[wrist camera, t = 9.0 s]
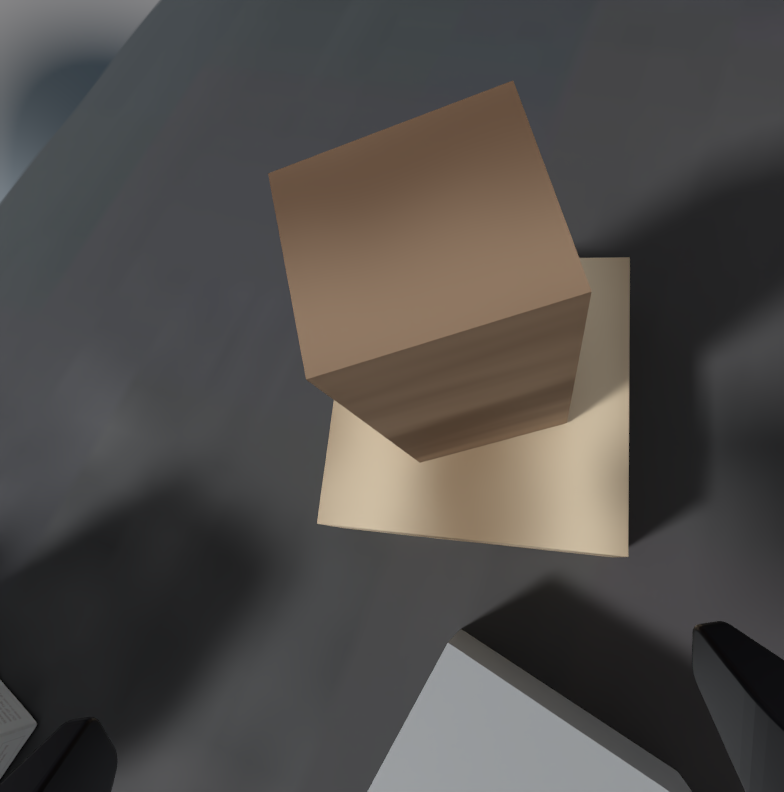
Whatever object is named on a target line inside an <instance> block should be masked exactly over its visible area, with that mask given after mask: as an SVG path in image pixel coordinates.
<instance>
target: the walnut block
mask: <svg viewBox="0 0 784 792" xmlns="http://www.w3.org/2000/svg"><path fill="white" fill-rule="evenodd" d="M268 175H269V180H270V186H271V191H272V197H273V202H274V207H275V213H276V218H277V224H278V229H279V235H280V240H281V245H282V251H283V256H284V262H285V267H286V272H287V278H288V283H289V289H290V294H291V300H292V305H293V310H294V316H295V321H296V327H297V332H298V338H299V343H300V348H301V354H302V359H303V365H304V370H305V376H306V380H308V381H309V382H310V383H312V384H313V385H315V386H316V387H317V388H319V389H320V390H321V391H323V392H324V393H325V394H327V395H328V396H330V397H331V398H332V399H334V400H335V401H336V402H338V403H339V404H340V405H342V406H343V407H345V408H346V409H347V410H349V411H350V412H351V413H353V414H354V415H355V416H357V417H358V418H359V419H361V420H362V421H364V422H365V423H366V424H368V425H369V426H370V427H372V428H373V429H374V430H376V431H377V432H379V433H380V434H381V435H383V436H384V437H385V438H387V439H388V440H389V441H391V442H392V443H394V444H395V445H396V446H398V447H399V448H400V449H402V450H403V451H404V452H406V453H407V454H409V455H410V456H411V457H413V458H414V459H415V460H417V461H418V462H419V463H421V462H425V461H428V460H432V459H436V458H440V457H443V456H447V455H451V454H454V453H458V452H462V451H465V450H469V449H473V448H477V447H480V446H484V445H488V444H491V443H495V442H499V441H502V440H506V439H510V438H514V437H517V436H521V435H525V434H528V433H532V432H536V431H540V430H543V429H547V428H551V427H554V426H558V425H562V424H565V423H567V420H568V415H569V409H570V404H571V399H572V393H573V388H574V383H575V377H576V372H577V367H578V362H579V356H580V351H581V346H582V340H583V335H584V330H585V324H586V319H587V314H588V309H589V303H590V298H591V293H592V291H591V288H590V286H589V283H588V280H587V278H586V275H585V272H584V270H583V267H582V264H581V262H580V259H579V256H578V254H577V251H576V248H575V245H574V243H573V240H572V237H571V235H570V232H569V229H568V227H567V224H566V221H565V219H564V216H563V213H562V211H561V208H560V205H559V202H558V200H557V197H556V194H555V192H554V189H553V186H552V184H551V181H550V178H549V176H548V173H547V170H546V168H545V165H544V162H543V160H542V157H541V154H540V151H539V149H538V146H537V143H536V141H535V138H534V135H533V133H532V130H531V127H530V125H529V122H528V119H527V117H526V114H525V111H524V109H523V106H522V103H521V100H520V98H519V95H518V92H517V90H516V87H515V84H514V82H513V81H511V82H508V83H505V84H503V85H500V86H498V87H495V88H492V89H490V90H487V91H484V92H482V93H479V94H476V95H474V96H471V97H469V98H466V99H463V100H461V101H458V102H455V103H453V104H450V105H447V106H445V107H442V108H440V109H437V110H434V111H432V112H429V113H426V114H424V115H421V116H419V117H416V118H413V119H411V120H408V121H405V122H403V123H400V124H397V125H395V126H392V127H390V128H387V129H384V130H382V131H379V132H376V133H374V134H371V135H368V136H366V137H363V138H361V139H358V140H355V141H353V142H350V143H347V144H345V145H342V146H340V147H337V148H334V149H332V150H329V151H326V152H324V153H321V154H318V155H316V156H313V157H311V158H308V159H305V160H303V161H300V162H297V163H295V164H292V165H289V166H287V167H284V168H282V169H279V170H276V171H274V172H271V173H268Z"/></svg>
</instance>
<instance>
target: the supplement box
mask: <svg viewBox="0 0 784 792" xmlns="http://www.w3.org/2000/svg"><path fill="white" fill-rule="evenodd" d="M36 726H37V723H36V721H35V720H34V719H33V717H32V716H31V715H30V714H29V712H28V711H27V710H26V709H25V708H24V707H23V705H22V704H21V703H20V702H19V701H18V700H17V698H16V697H15V696H14V695H13V694H12V693H11V691H10V690H9V689H8V688H7V687H6V686H5V685H4V683H3V682H2V681H1V680H0V779H1V777H2V776H3V774H4V773H5V771H6V770H7V768H8V767H9V765H10V764H11V763H12V761H13V760H14V758H15V757H16V755H17V754H18V752H19V751H20V749H21V748H22V746H23V745H24V744H25V742H26V741H27V739H28V738H29V736H30V735H31V734H32V732H33V731H34V729H35V727H36Z"/></svg>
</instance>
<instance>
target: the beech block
mask: <svg viewBox="0 0 784 792" xmlns="http://www.w3.org/2000/svg"><path fill="white" fill-rule="evenodd" d="M579 259H580V262H581V264H582V267H583V270H584V272H585V275H586V278H587V280H588V283H589V286H590V288H591V291H592V293H591V298H590V303H589V309H588V314H587V319H586V324H585V330H584V335H583V340H582V346H581V351H580V356H579V362H578V367H577V372H576V377H575V383H574V388H573V393H572V399H571V404H570V409H569V415H568V420H567V423H565V424H562V425H558V426H554V427H551V428H547V429H543V430H540V431H536V432H532V433H528V434H525V435H521V436H517V437H514V438H510V439H506V440H502V441H499V442H495V443H491V444H488V445H484V446H480V447H477V448H473V449H469V450H465V451H462V452H458V453H454V454H451V455H447V456H443V457H440V458H436V459H432V460H428V461H425V462H421V463H419V462H418V461H417V460H415V459H414V458H413V457H411V456H410V455H409V454H407V453H406V452H404V451H403V450H402V449H400V448H399V447H398V446H396V445H395V444H394V443H392V442H391V441H389V440H388V439H387V438H385V437H384V436H383V435H381V434H380V433H379V432H377V431H376V430H374V429H373V428H372V427H370V426H369V425H368V424H366V423H365V422H364V421H362V420H361V419H359V418H358V417H357V416H355V415H354V414H353V413H351V412H350V411H349V410H347V409H346V408H345V407H343V406H342V405H340V404H339V403H338V402H336V401H335V400H334V404H333V411H332V419H331V426H330V433H329V440H328V448H327V455H326V462H325V469H324V477H323V484H322V491H321V498H320V506H319V513H318V520H317V524H323V525H329V526H335V527H341V528H347V529H356V530H365V531H374V532H383V533H393V534H402V535H411V536H420V537H430V538H439V539H448V540H457V541H467V542H476V543H485V544H495V545H504V546H513V547H522V548H532V549H541V550H550V551H559V552H569V553H578V554H587V555H596V556H606V557H628V518H629V338H630V257H616V258H579Z"/></svg>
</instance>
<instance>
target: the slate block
mask: <svg viewBox="0 0 784 792" xmlns="http://www.w3.org/2000/svg"><path fill="white" fill-rule="evenodd" d="M368 792H692V791H691V789H690V788H689V787H688V785H687V784H686V782H685V781H684V780H683V778H682V777H681V775H680V774H679V773H678V771H676V770H674V769H673V768H671V767H670V766H668V765H667V764H665V763H664V762H662V761H661V760H659V759H658V758H656V757H655V756H653V755H652V754H650V753H649V752H647V751H646V750H644V749H643V748H641V747H640V746H638V745H637V744H635V743H633V742H632V741H630V740H629V739H627V738H626V737H624V736H623V735H621V734H620V733H618V732H617V731H615V730H614V729H612V728H611V727H609V726H608V725H606V724H605V723H603V722H602V721H600V720H599V719H597V718H595V717H594V716H592V715H591V714H589V713H588V712H586V711H585V710H583V709H582V708H580V707H579V706H577V705H576V704H574V703H573V702H571V701H570V700H568V699H567V698H565V697H564V696H562V695H561V694H559V693H558V692H556V691H554V690H553V689H551V688H550V687H548V686H547V685H545V684H544V683H542V682H541V681H539V680H538V679H536V678H535V677H533V676H532V675H530V674H529V673H527V672H526V671H524V670H523V669H521V668H520V667H518V666H516V665H515V664H513V663H512V662H510V661H509V660H507V659H506V658H504V657H503V656H501V655H500V654H498V653H497V652H495V651H494V650H492V649H491V648H489V647H488V646H486V645H485V644H483V643H482V642H480V641H479V640H477V639H475V638H474V637H472V636H471V635H469V634H468V633H466V632H465V631H463V630H462V629H460V630H459V631H458V632H457V634H456V635H455V636H454V637H453V638H452V639H451V640H450V641H449V642H448V643H447V645H446V647H445V649H444V651H443V653H442V655H441V656H440V658H439V660H438V662H437V664H436V666H435V668H434V669H433V671H432V673H431V675H430V677H429V679H428V681H427V682H426V684H425V686H424V688H423V690H422V692H421V694H420V695H419V697H418V699H417V701H416V703H415V705H414V706H413V708H412V710H411V712H410V714H409V716H408V718H407V719H406V721H405V723H404V725H403V727H402V729H401V731H400V732H399V734H398V736H397V738H396V740H395V742H394V744H393V745H392V747H391V749H390V751H389V753H388V755H387V756H386V758H385V760H384V762H383V764H382V766H381V768H380V769H379V771H378V773H377V775H376V777H375V779H374V781H373V782H372V784H371V786H370V788H369V790H368Z"/></svg>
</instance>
